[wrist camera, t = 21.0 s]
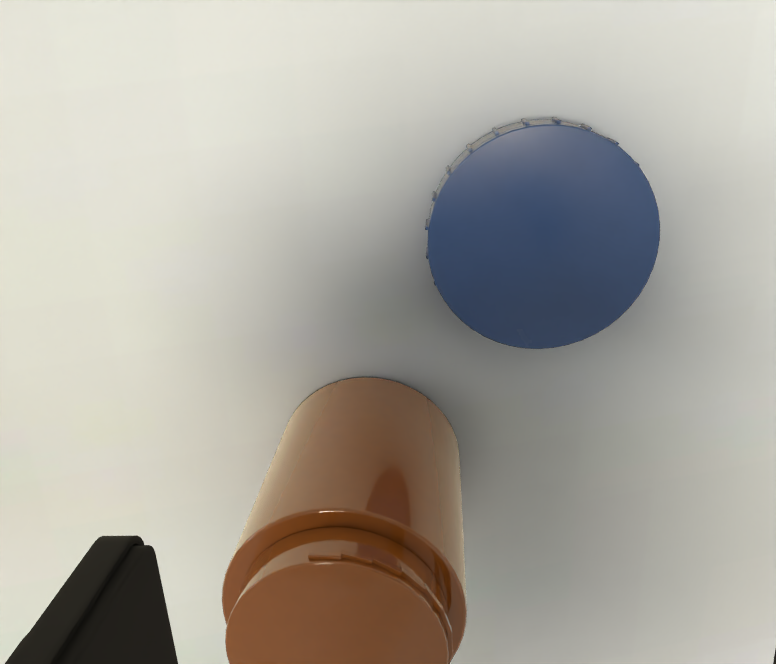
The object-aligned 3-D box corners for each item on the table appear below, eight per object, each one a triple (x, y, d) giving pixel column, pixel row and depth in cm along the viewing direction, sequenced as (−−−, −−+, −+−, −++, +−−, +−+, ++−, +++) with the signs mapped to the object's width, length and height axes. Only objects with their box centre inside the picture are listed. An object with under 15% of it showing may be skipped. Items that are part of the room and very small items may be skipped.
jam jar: (462, 529, 27) (473, 751, 19) (292, 532, 28) (226, 749, 19) (455, 372, 25) (464, 542, 16) (271, 379, 26) (184, 546, 17)
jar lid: (422, 122, 22) (421, 127, 21) (656, 112, 22) (672, 116, 20) (429, 334, 25) (428, 353, 23) (638, 329, 24) (652, 349, 23)
